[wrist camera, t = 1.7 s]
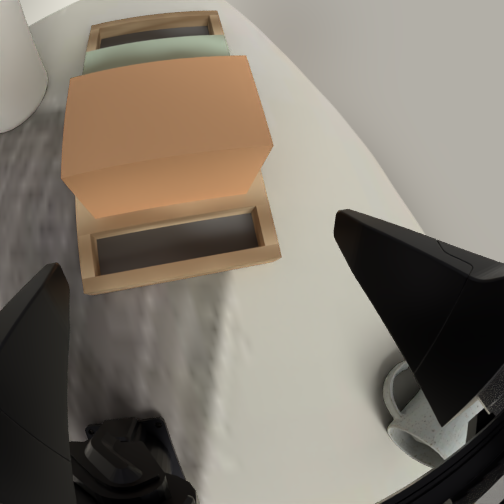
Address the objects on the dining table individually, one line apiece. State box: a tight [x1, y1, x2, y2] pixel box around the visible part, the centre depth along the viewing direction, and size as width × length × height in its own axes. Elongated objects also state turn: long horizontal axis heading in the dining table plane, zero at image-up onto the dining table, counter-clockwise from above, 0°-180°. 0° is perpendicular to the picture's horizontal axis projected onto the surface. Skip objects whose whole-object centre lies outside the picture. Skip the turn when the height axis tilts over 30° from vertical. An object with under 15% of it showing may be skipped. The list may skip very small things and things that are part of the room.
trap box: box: [75, 11, 282, 295], centre depth 23 cm, size 28×14×2 cm, turn 13°
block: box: [61, 56, 273, 219], centre depth 18 cm, size 7×11×7 cm, turn 103°
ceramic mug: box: [383, 360, 484, 468], centre depth 20 cm, size 11×8×8 cm
